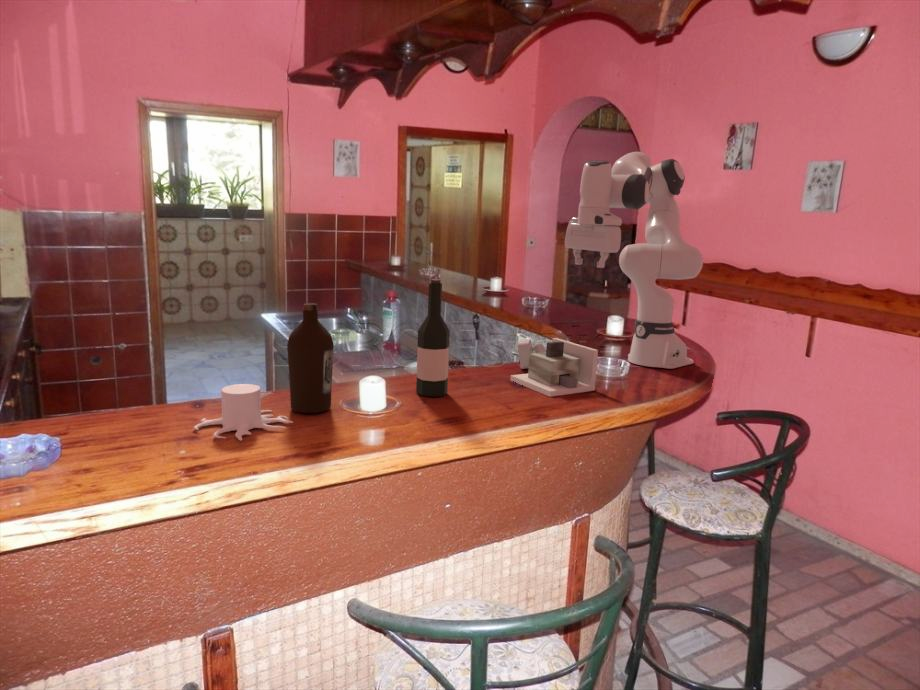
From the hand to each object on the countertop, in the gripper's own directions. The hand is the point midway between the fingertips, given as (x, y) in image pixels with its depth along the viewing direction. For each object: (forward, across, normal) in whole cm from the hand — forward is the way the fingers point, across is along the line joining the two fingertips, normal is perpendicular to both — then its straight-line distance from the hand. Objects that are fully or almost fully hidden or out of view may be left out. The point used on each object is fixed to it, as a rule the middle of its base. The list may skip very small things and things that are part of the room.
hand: (589, 266), depth 191 cm
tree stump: (+34, +3, -101) cm, 107 cm away
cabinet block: (+32, +6, -16) cm, 36 cm away
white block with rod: (+34, -10, -8) cm, 36 cm away
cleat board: (+33, +6, -16) cm, 37 cm away
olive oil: (+33, -1, -84) cm, 90 cm away
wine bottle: (+33, -1, -51) cm, 61 cm away
